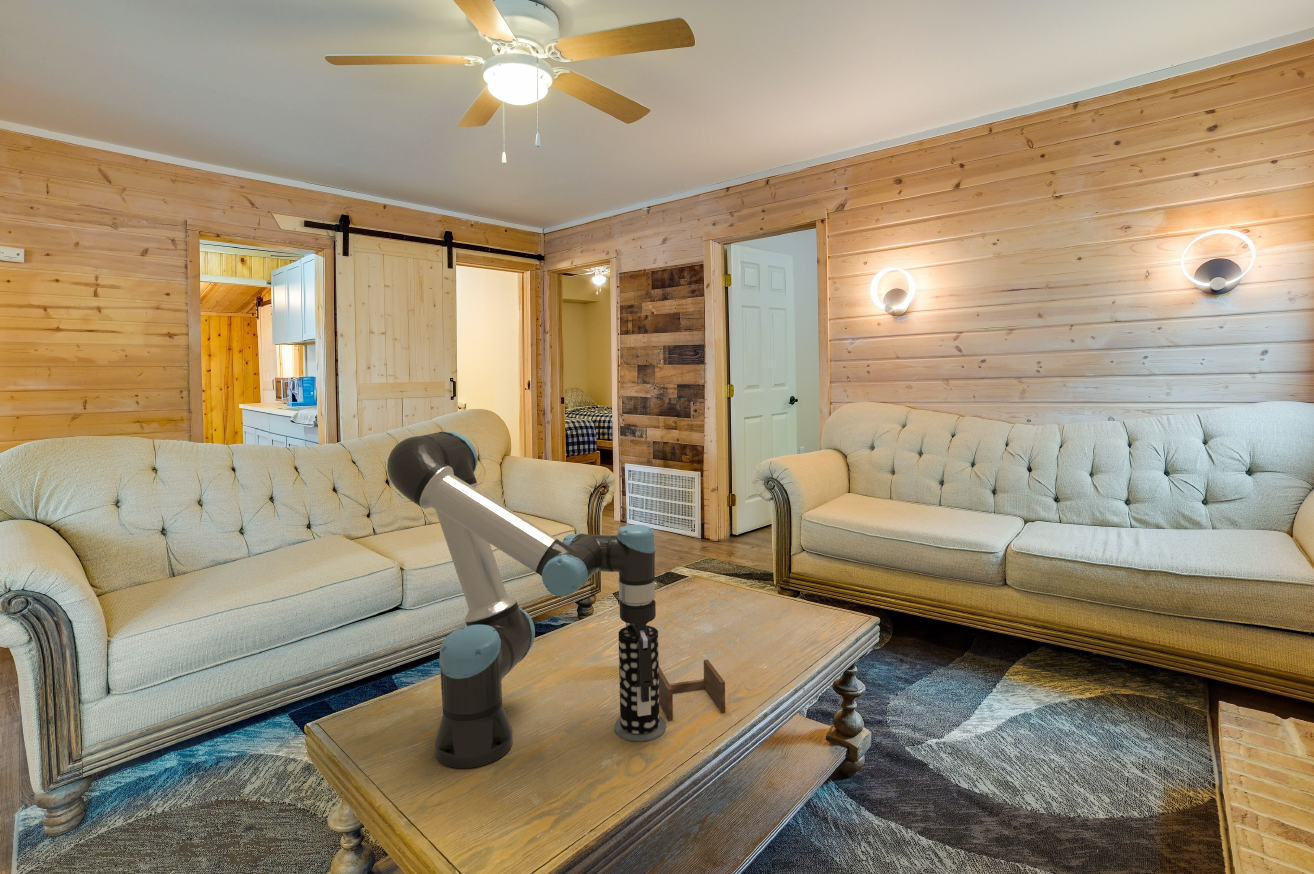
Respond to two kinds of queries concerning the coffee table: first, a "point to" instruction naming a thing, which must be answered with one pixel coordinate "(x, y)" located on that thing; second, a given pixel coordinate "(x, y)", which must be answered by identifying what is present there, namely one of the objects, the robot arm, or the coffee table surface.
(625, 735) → the coaster
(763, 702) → the coffee table surface
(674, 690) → the rack
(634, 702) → the spotted tube
